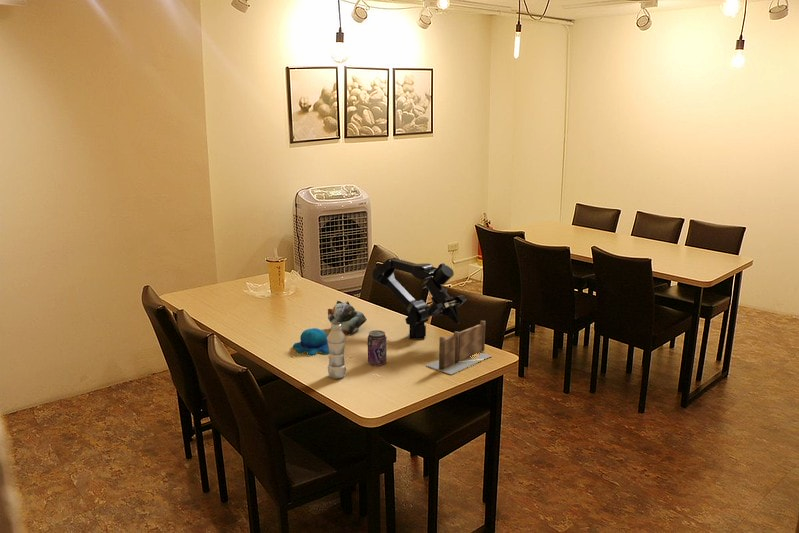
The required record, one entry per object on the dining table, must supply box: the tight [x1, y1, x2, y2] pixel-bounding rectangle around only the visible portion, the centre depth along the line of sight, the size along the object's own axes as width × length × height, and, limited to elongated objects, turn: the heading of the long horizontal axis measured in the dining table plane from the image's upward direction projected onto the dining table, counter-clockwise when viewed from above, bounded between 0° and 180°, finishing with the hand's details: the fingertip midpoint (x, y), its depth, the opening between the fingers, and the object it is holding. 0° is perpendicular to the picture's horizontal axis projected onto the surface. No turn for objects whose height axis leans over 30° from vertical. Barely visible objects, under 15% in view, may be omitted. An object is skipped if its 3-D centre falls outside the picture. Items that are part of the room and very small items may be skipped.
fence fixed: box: [438, 330, 460, 370], centre depth 234 cm, size 10×2×12 cm, turn 136°
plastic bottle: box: [327, 322, 347, 380], centre depth 223 cm, size 6×7×20 cm
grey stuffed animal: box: [327, 300, 367, 335], centre depth 274 cm, size 15×12×14 cm
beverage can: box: [367, 329, 387, 367], centre depth 237 cm, size 7×7×12 cm
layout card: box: [426, 352, 492, 376], centre depth 240 cm, size 12×25×1 cm, turn 137°
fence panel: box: [458, 320, 486, 361], centre depth 243 cm, size 16×2×12 cm, turn 137°
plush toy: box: [292, 327, 329, 357], centre depth 252 cm, size 17×17×8 cm
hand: (458, 323), depth 249 cm, fingers closed
